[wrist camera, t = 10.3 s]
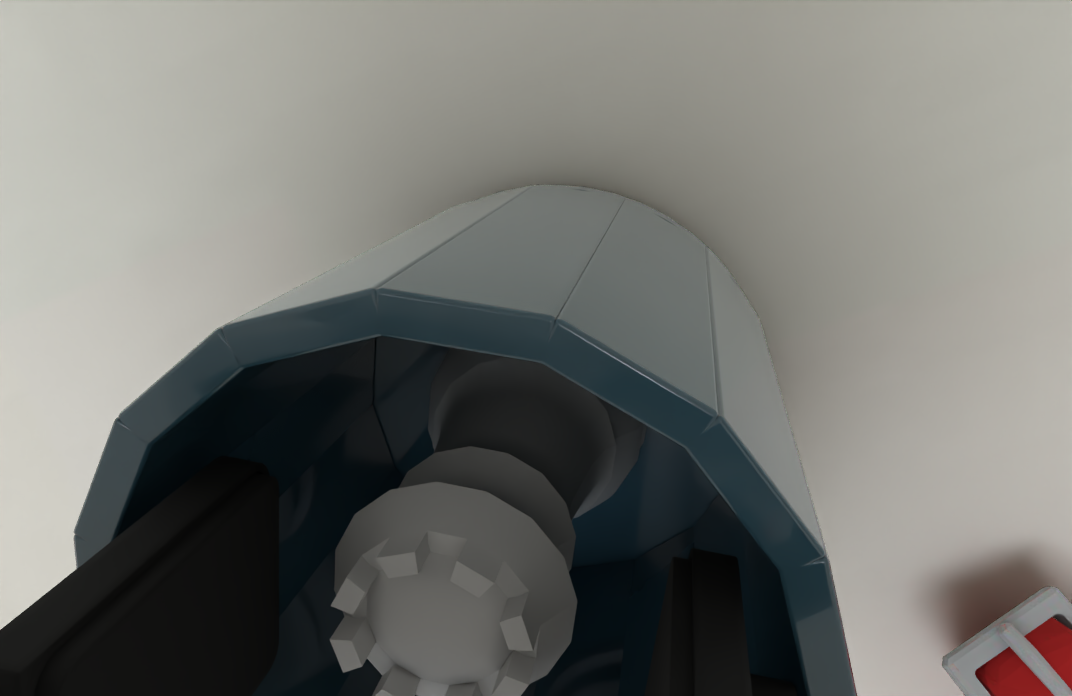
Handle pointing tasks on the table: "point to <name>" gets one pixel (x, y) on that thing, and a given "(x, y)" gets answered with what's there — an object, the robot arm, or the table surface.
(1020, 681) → the tracker holder
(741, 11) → the table surface
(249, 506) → the robot arm
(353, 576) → the rook chess piece
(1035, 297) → the table surface
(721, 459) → the tumbler
